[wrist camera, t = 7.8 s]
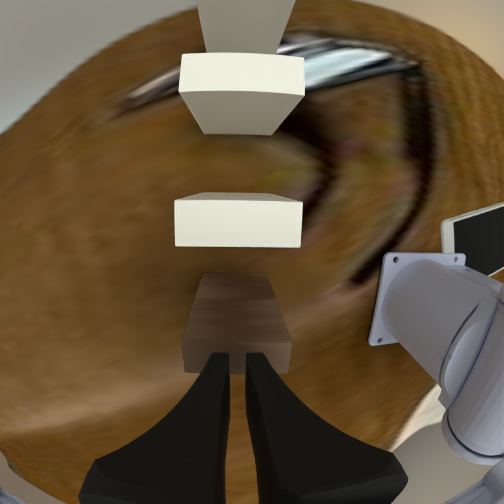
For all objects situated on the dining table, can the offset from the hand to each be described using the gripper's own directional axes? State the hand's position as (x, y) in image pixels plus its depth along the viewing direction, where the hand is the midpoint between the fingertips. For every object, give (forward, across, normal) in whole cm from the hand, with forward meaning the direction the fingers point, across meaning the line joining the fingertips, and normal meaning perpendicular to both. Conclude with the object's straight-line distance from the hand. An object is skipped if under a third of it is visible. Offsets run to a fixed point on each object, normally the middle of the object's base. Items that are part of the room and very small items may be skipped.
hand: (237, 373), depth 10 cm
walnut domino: (+10, 0, 0) cm, 10 cm away
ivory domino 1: (+10, 0, -16) cm, 19 cm away
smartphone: (+10, -25, -4) cm, 27 cm away
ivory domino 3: (+10, 0, -6) cm, 11 cm away
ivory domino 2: (+10, 0, -11) cm, 15 cm away
